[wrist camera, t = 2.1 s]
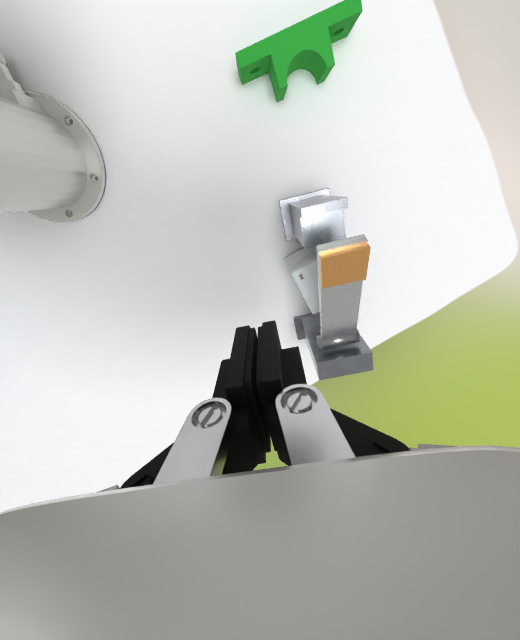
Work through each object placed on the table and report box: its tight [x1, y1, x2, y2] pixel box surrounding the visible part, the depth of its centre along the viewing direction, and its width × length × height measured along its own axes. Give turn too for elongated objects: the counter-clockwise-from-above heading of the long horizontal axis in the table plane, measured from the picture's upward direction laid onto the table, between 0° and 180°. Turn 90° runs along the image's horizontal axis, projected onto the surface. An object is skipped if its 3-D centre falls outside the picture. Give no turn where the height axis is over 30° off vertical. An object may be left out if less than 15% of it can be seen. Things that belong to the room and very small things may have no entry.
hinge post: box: [294, 312, 373, 380], centre depth 35 cm, size 4×8×12 cm, turn 103°
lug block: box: [279, 188, 348, 249], centre depth 29 cm, size 5×6×11 cm
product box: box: [285, 246, 320, 314], centre depth 33 cm, size 6×6×7 cm
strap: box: [317, 234, 370, 350], centre depth 25 cm, size 14×4×2 cm, turn 13°
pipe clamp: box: [235, 0, 362, 102], centre depth 26 cm, size 11×4×5 cm, turn 110°
